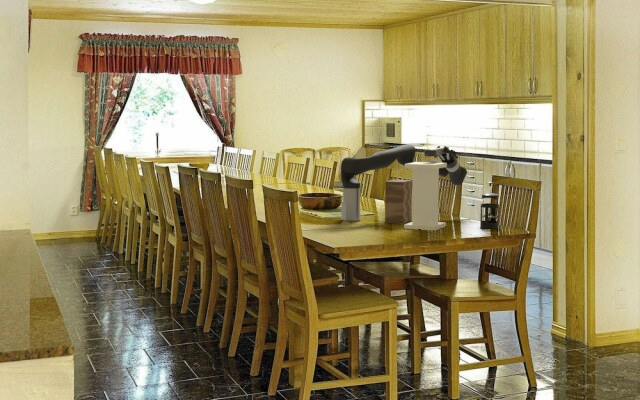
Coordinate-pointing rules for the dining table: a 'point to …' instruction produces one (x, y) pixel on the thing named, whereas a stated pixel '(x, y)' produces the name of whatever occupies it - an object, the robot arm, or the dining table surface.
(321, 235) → the dining table surface
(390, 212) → the low block
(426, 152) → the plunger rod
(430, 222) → the tall stand
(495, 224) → the french press
